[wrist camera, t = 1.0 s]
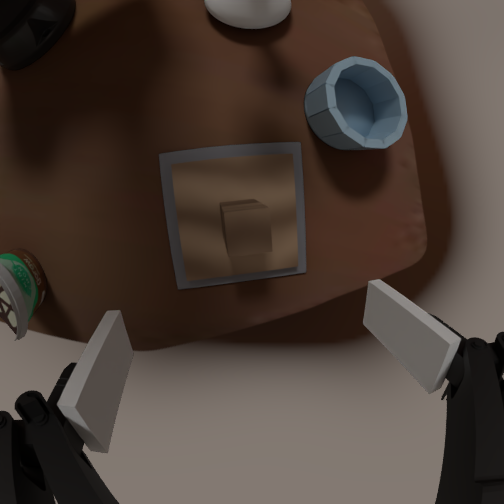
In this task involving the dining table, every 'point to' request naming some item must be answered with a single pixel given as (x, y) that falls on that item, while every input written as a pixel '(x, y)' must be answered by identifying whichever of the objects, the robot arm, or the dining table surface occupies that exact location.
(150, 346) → the dining table surface
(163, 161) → the rubber mat
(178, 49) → the dining table surface
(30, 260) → the food container
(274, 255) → the walnut lid
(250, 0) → the flower in vase
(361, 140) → the ceramic bowl
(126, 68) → the dining table surface
